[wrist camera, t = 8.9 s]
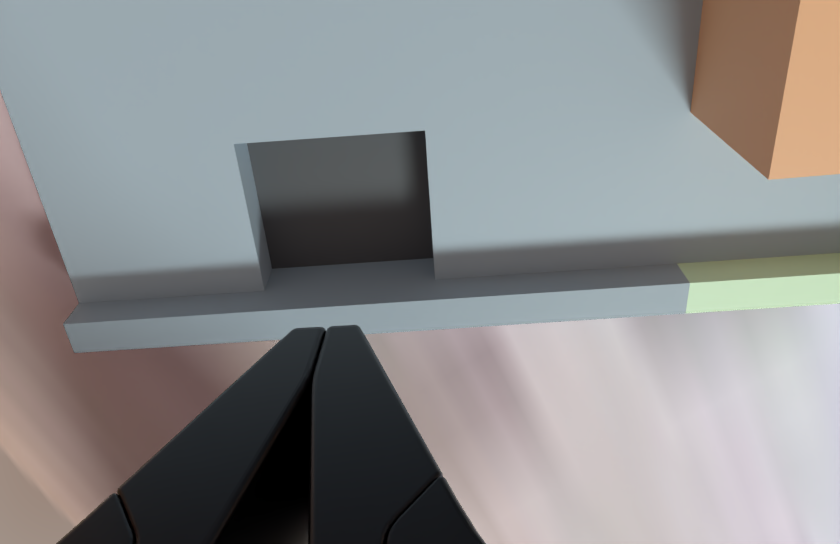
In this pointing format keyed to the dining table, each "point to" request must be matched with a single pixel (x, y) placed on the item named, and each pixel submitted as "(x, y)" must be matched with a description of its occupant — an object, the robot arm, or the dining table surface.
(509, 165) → the box
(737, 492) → the dining table surface
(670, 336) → the dining table surface
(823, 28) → the block
